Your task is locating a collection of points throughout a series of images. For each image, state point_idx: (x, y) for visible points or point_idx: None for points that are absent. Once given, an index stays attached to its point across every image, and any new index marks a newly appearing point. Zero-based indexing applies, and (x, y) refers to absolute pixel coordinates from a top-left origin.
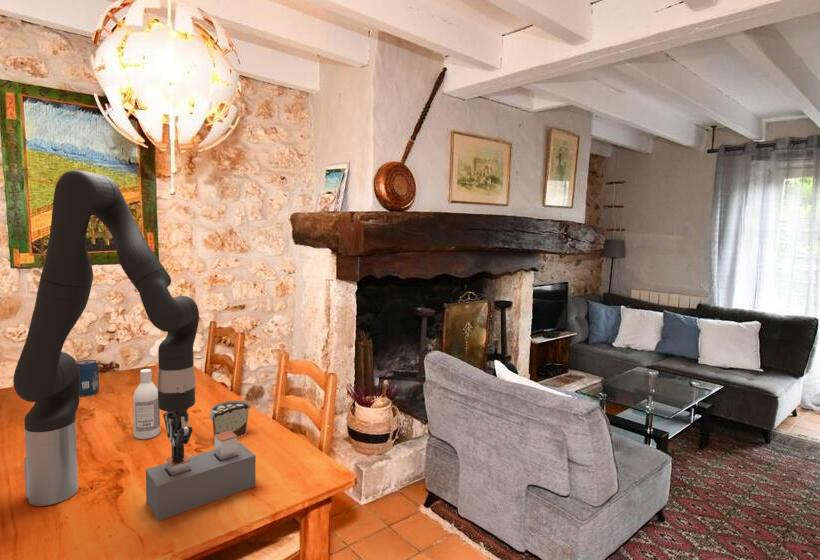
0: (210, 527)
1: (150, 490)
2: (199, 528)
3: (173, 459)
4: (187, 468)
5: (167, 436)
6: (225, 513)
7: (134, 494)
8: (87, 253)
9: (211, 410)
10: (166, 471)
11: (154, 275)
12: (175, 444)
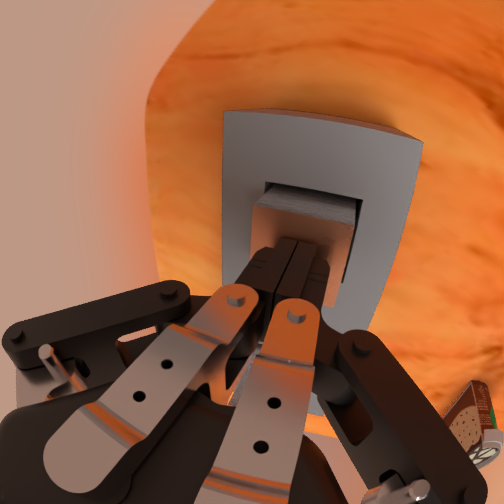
0: (171, 191)
1: (344, 120)
2: (180, 172)
3: (282, 239)
4: None
5: (366, 337)
6: (199, 238)
7: (464, 133)
8: None
9: (496, 445)
10: (344, 199)
11: None
12: (161, 287)
